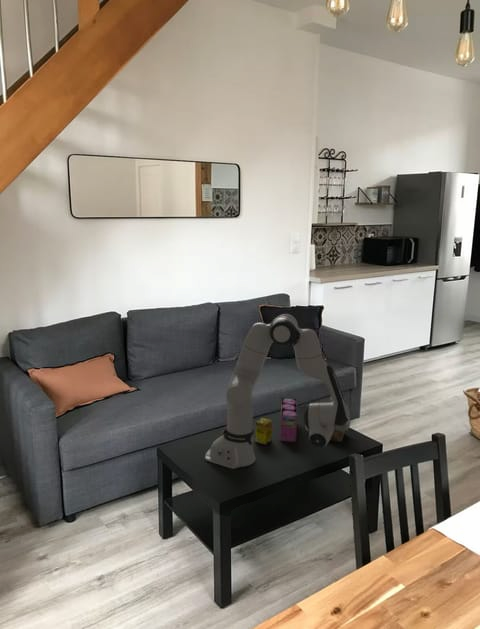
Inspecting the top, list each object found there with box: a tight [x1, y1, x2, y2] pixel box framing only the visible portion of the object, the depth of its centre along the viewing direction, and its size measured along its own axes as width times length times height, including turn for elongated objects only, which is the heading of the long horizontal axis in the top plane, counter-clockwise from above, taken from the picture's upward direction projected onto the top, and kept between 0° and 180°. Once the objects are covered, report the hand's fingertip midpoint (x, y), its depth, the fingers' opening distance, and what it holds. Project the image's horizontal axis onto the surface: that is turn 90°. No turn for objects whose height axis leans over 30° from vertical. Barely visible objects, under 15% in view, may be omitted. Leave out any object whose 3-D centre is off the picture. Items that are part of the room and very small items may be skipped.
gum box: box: [279, 397, 298, 443], centre depth 256 cm, size 24×8×14 cm, turn 174°
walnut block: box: [330, 429, 345, 443], centre depth 252 cm, size 10×10×8 cm
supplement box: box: [254, 417, 273, 446], centre depth 244 cm, size 6×6×11 cm
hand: (330, 414), depth 238 cm, fingers open, 8 cm apart
